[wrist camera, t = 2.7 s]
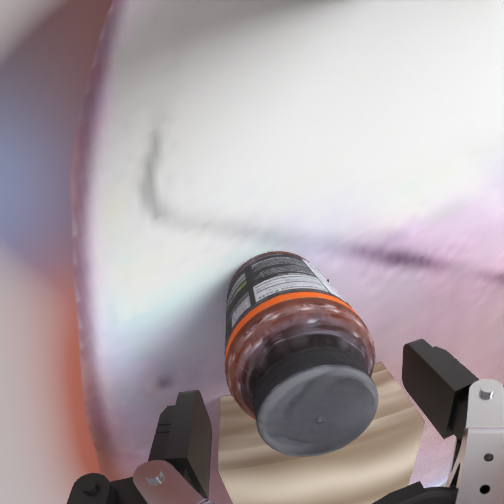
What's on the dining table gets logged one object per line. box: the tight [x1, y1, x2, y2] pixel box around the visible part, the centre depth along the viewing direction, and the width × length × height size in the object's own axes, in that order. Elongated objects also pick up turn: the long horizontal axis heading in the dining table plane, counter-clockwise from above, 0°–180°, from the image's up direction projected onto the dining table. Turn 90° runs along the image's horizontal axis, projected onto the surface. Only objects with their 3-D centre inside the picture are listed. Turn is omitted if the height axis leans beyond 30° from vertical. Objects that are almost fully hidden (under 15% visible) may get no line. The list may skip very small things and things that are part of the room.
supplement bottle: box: [225, 251, 378, 457], centre depth 14 cm, size 6×6×11 cm
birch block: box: [218, 362, 425, 504], centre depth 20 cm, size 12×12×7 cm
